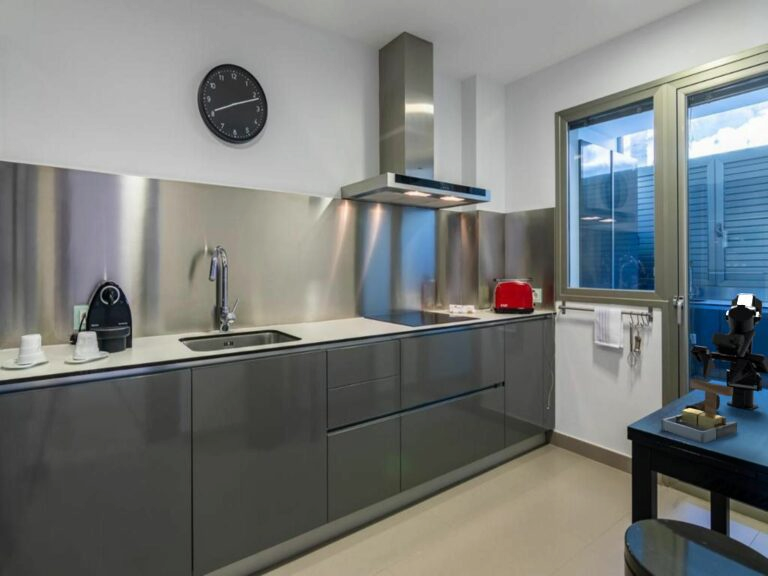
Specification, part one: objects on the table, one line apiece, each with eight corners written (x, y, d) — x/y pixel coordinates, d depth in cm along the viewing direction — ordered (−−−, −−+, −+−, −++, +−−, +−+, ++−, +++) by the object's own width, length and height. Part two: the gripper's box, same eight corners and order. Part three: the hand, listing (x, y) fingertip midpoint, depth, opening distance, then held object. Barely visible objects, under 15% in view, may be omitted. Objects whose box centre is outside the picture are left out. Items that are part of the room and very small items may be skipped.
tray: (673, 426, 125) (674, 416, 125) (716, 439, 115) (716, 428, 115) (661, 429, 122) (661, 419, 122) (703, 443, 112) (703, 432, 112)
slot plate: (694, 420, 130) (694, 410, 129) (737, 432, 119) (737, 422, 119) (674, 425, 125) (674, 415, 125) (717, 439, 115) (717, 428, 115)
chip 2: (705, 422, 122) (706, 412, 122) (721, 427, 118) (722, 416, 118) (698, 424, 120) (698, 414, 120) (713, 429, 117) (714, 419, 117)
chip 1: (689, 417, 126) (689, 408, 126) (704, 422, 122) (704, 412, 122) (681, 420, 124) (681, 410, 124) (696, 424, 121) (696, 414, 121)
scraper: (693, 414, 128) (694, 379, 128) (732, 425, 119) (732, 387, 119) (687, 416, 127) (688, 380, 126) (725, 427, 118) (726, 388, 117)
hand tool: (698, 420, 127) (698, 405, 127) (684, 416, 131) (684, 401, 131) (729, 409, 136) (729, 395, 136) (714, 406, 140) (714, 392, 140)
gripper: (694, 320, 134) (672, 357, 130) (766, 327, 118) (745, 369, 113) (707, 342, 138) (687, 379, 134) (779, 352, 121) (759, 394, 117)
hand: (717, 380), depth 124 cm, fingers open, 6 cm apart
